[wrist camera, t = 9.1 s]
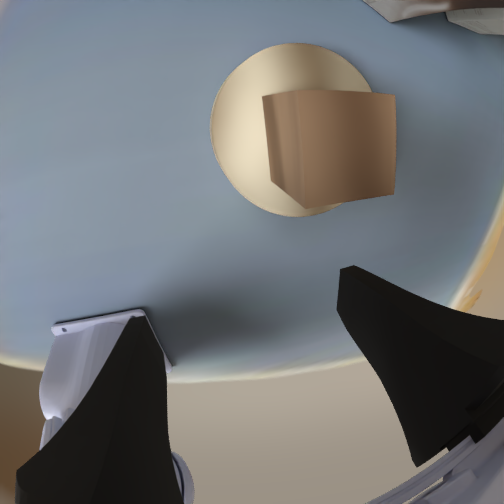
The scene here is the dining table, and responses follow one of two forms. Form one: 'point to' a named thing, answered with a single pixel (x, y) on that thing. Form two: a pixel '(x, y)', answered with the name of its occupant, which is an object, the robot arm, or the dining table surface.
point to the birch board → (252, 115)
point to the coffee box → (426, 7)
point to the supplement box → (479, 19)
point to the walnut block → (331, 145)
